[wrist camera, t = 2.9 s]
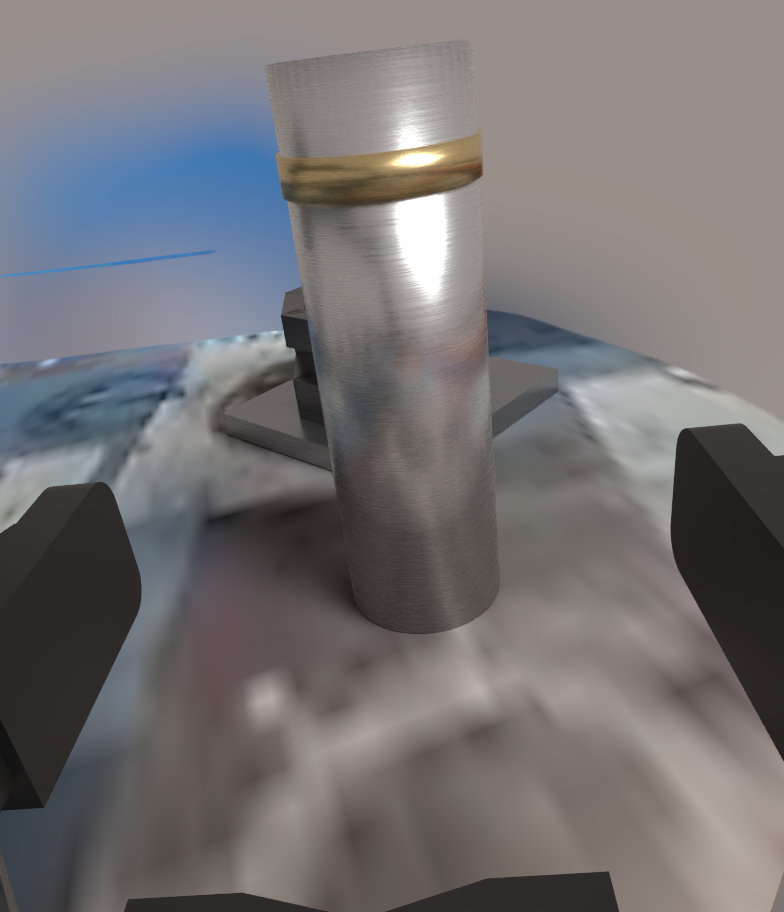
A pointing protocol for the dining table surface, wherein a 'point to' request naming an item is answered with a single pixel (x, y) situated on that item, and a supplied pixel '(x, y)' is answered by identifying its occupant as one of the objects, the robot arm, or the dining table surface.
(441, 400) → the steel tube
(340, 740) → the dining table surface
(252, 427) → the collar stand
